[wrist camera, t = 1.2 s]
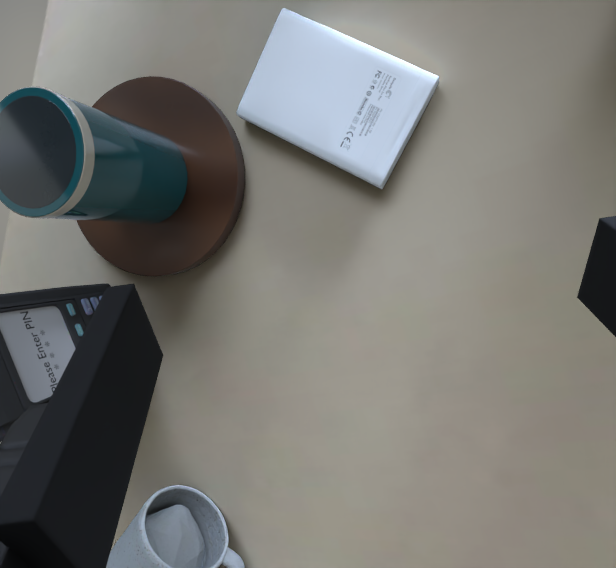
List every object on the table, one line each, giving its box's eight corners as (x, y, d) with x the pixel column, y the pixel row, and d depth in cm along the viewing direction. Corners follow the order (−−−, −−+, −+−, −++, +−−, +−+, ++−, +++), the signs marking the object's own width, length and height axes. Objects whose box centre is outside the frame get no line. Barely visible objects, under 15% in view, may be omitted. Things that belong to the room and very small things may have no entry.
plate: (79, 85, 39) (67, 80, 38) (249, 78, 35) (241, 71, 34) (79, 268, 41) (67, 269, 40) (241, 282, 37) (233, 284, 35)
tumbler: (109, 131, 37) (-21, 88, 27) (189, 130, 35) (84, 83, 25) (108, 222, 38) (-17, 215, 28) (187, 226, 36) (83, 220, 26)
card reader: (158, 373, 40) (0, 447, 25) (123, 387, 41) (-47, 466, 27) (118, 277, 40) (-60, 297, 26) (85, 295, 41) (-104, 322, 27)
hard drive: (289, 16, 34) (439, 82, 31) (243, 119, 36) (382, 190, 33) (282, 5, 32) (439, 74, 30) (234, 114, 34) (379, 187, 31)
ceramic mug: (134, 527, 42) (71, 590, 34) (180, 468, 40) (123, 520, 33) (219, 611, 40) (171, 694, 33) (270, 553, 38) (232, 628, 31)
